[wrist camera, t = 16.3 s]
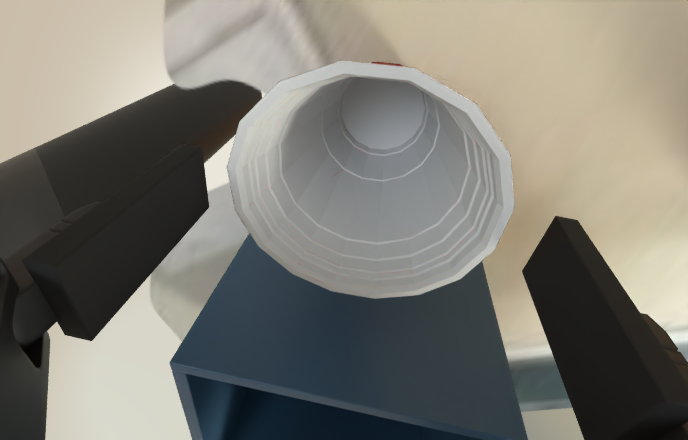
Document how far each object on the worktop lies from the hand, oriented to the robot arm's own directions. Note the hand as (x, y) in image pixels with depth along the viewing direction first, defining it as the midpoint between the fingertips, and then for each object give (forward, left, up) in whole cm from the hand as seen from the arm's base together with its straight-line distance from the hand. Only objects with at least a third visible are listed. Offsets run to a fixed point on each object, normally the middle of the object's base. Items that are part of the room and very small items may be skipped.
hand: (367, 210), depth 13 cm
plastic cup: (0, 0, -12) cm, 12 cm away
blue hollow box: (+1, -19, -12) cm, 22 cm away
